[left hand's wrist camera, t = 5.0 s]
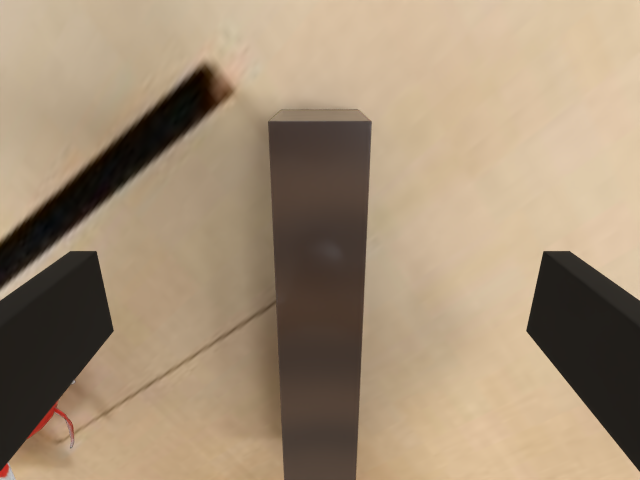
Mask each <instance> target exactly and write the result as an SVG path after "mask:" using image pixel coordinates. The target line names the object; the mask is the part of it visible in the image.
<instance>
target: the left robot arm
mask: <svg viewBox="0 0 640 480" xmlns="http://www.w3.org/2000/svg"><path fill="white" fill-rule="evenodd" d="M113 331H114V330H113V325H112V321H111V316H110V312H109V307H108V302H107V298H106V293H105V288H104V284H103V279H102V275H101V270H100V265H99V261H98V256H97V251H70V252H69V253H67V254H66V255H64V256H63V257H62V258H60V259H59V260H57V261H56V262H54V263H53V264H52V265H50V266H49V267H47V268H46V269H45V270H43V271H42V272H40V273H39V274H37V275H36V276H35V277H33V278H32V279H30V280H29V281H28V282H26V283H25V284H23V285H22V286H20V287H19V288H18V289H16V290H15V291H13V292H12V293H11V294H9V295H8V296H6V297H5V298H3V299H2V300H1V301H0V471H1V470H2V469H3V468H4V466H5V465H6V464H7V463H8V461H9V460H10V459H11V458H12V456H13V455H14V454H15V453H16V452H17V450H18V449H19V448H20V447H21V445H22V444H23V443H24V442H25V440H26V439H27V438H28V437H29V435H30V434H31V433H32V432H33V430H34V429H35V428H36V427H37V425H38V424H39V423H40V422H41V421H42V419H43V418H44V417H45V416H46V414H47V413H48V412H49V411H50V409H51V408H52V407H53V406H54V404H55V403H56V402H57V401H58V399H59V398H60V397H61V396H62V394H63V393H64V392H65V391H66V389H67V388H68V387H69V386H70V385H71V383H72V382H73V381H74V380H75V378H76V377H77V376H78V375H79V373H80V372H81V371H82V370H83V368H84V367H85V366H86V365H87V363H88V362H89V361H90V360H91V358H92V357H93V356H94V355H95V354H96V352H97V351H98V350H99V349H100V347H101V346H102V345H103V344H104V342H105V341H106V340H107V339H108V337H109V336H110V335H111V334H112V332H113ZM526 331H527V332H528V334H529V335H530V336H531V337H532V339H533V340H534V341H535V342H536V344H537V345H538V346H539V347H540V349H541V350H542V351H543V352H544V354H545V355H546V356H547V357H548V358H549V360H550V361H551V362H552V363H553V365H554V366H555V367H556V368H557V370H558V371H559V372H560V373H561V375H562V376H563V377H564V378H565V380H566V381H567V382H568V383H569V385H570V386H571V387H572V388H573V389H574V391H575V392H576V393H577V394H578V396H579V397H580V398H581V399H582V401H583V402H584V403H585V404H586V406H587V407H588V408H589V409H590V411H591V412H592V413H593V414H594V416H595V417H596V418H597V419H598V421H599V422H600V423H601V424H602V425H603V427H604V428H605V429H606V430H607V432H608V433H609V434H610V435H611V437H612V438H613V439H614V440H615V442H616V443H617V444H618V445H619V447H620V448H621V449H622V450H623V452H624V453H625V454H626V455H627V456H628V458H629V459H630V460H631V461H632V463H633V464H634V465H635V466H636V468H637V469H638V470H639V471H640V301H639V300H638V299H637V298H635V297H634V296H632V295H631V294H629V293H628V292H627V291H625V290H624V289H622V288H621V287H620V286H618V285H617V284H615V283H614V282H612V281H611V280H610V279H608V278H607V277H605V276H604V275H603V274H601V273H600V272H598V271H597V270H595V269H594V268H593V267H591V266H590V265H588V264H587V263H586V262H584V261H583V260H581V259H580V258H578V257H577V256H576V255H574V254H573V253H571V252H570V251H543V256H542V261H541V265H540V270H539V275H538V279H537V284H536V288H535V293H534V298H533V302H532V307H531V312H530V316H529V321H528V325H527V330H526Z"/></svg>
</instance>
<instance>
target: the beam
mask: <svg viewBox="0 0 640 480" xmlns="http://www.w3.org/2000/svg"><path fill="white" fill-rule="evenodd" d="M371 125H372V122H371V120H370V119H368V118H367V117H366V116H365V115H364V114H363V113H362V112H361V111H360V110H280V111H279V112H278V113H277V114H276V115H275V116H274V117H273V118H272V119H270V120H269V122H268V126H269V148H270V171H271V193H272V216H273V238H274V261H275V283H276V306H277V328H278V351H279V373H280V396H281V418H282V441H283V463H284V480H356V463H357V441H358V418H359V396H360V373H361V351H362V328H363V305H364V283H365V260H366V238H367V215H368V193H369V170H370V148H371Z"/></svg>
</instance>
